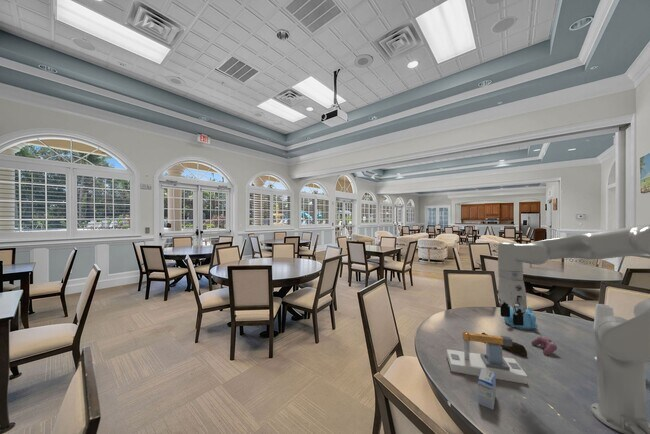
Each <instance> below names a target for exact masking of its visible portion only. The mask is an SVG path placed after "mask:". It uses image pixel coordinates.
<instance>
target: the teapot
mask: <svg viewBox="0 0 650 434" xmlns="http://www.w3.org/2000/svg"><path fill="white" fill-rule="evenodd" d="M515 306H519V305H518V304H515ZM509 307H510V317H503V320H504V322H505V323H506V324H509V326H510V325H511V326H510V327H512V326H513V327H512V328H515V327H516V328H515V329H519V328H520V330H532V329H538V325H537V323H536V321H537V316H536V315H535V314H534V313H532V312H533V308H531V307H527V309H526V311H525V313H524V315H523V322H524V325H523V326H517V325H513V314H514V311H513V308H512V306H509ZM518 309H519V308H516V310H518Z"/></svg>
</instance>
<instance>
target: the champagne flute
mask: <svg viewBox="0 0 650 434" xmlns="http://www.w3.org/2000/svg"><path fill="white" fill-rule="evenodd" d="M606 316H615V314H614V307H613V306H611V305H608V304H604V303H597V304H595V313H594V321H593V330H594V332H595V325H596V322H597V321H598V320H599V319H601V318H603V317H606ZM593 357H594V356H593ZM594 359H595V360H596V361H597V356H595V357H594Z"/></svg>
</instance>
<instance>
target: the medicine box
mask: <svg viewBox="0 0 650 434" xmlns="http://www.w3.org/2000/svg"><path fill="white" fill-rule="evenodd" d="M496 380H497V379H496V375H495V373H494V372H492V371H489V370H486V369H483V368H481V371H480V374H479V376H478V379H477V386H478V387H477V398H478V401H477V402H478V405H481V406H483V407H486V408H488V409H489V410H492V411H494V409H495V402H496V393H497V391H496V390H497V388H496V386H497V384H496V383H497V381H496Z"/></svg>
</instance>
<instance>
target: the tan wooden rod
mask: <svg viewBox="0 0 650 434" xmlns="http://www.w3.org/2000/svg"><path fill="white" fill-rule="evenodd" d="M462 339H463V341H464V340H466V341H469V342H477V343H485V344H486V343H492V344H500V345H504V346H511V347H512V342H513V339H512V338H511V336H505V335H500V336H499V335H492V334H491V335H490V334H487V335H484V334H482V333H475V332H467V331H463V332H462Z"/></svg>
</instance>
